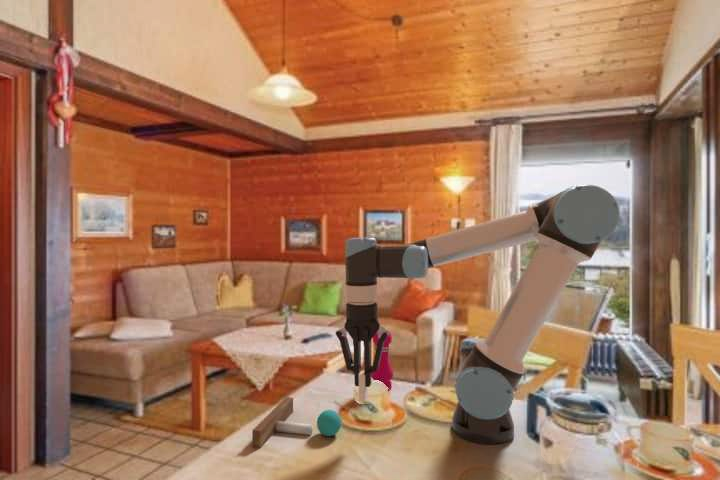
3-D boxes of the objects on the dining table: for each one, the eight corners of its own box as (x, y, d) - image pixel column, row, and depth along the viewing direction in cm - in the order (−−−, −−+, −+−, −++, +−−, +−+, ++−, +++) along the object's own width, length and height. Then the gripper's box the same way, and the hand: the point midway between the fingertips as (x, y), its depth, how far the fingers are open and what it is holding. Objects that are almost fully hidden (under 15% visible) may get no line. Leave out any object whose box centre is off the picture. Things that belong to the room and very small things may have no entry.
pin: (312, 422, 108) (277, 419, 110) (309, 431, 106) (274, 428, 108) (313, 427, 109) (279, 424, 111) (311, 436, 108) (276, 433, 109)
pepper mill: (391, 392, 135) (392, 328, 134) (368, 390, 136) (369, 327, 135) (394, 384, 142) (395, 323, 141) (372, 382, 143) (373, 322, 143)
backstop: (293, 412, 120) (293, 397, 120) (260, 448, 101) (260, 431, 101) (286, 411, 121) (286, 397, 121) (252, 447, 101) (252, 430, 101)
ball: (318, 407, 111) (324, 430, 111) (310, 418, 105) (317, 442, 105) (340, 403, 110) (346, 427, 110) (333, 414, 104) (340, 438, 104)
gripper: (391, 300, 107) (392, 395, 107) (339, 298, 110) (341, 391, 110) (385, 305, 99) (387, 407, 100) (331, 304, 102) (332, 403, 103)
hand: (363, 399), depth 105 cm, fingers closed
